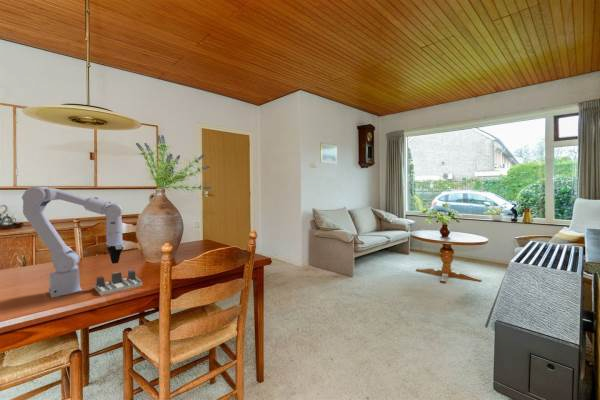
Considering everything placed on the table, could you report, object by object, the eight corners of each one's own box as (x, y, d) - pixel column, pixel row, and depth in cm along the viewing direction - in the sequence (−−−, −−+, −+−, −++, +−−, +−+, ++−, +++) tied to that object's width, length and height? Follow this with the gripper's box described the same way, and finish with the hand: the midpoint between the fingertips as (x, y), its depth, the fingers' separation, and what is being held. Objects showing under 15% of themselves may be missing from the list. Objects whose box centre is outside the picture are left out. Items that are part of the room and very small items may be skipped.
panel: (100, 295, 109) (100, 283, 109) (94, 288, 117) (93, 276, 117) (142, 285, 120) (142, 274, 120) (133, 279, 128) (133, 269, 128)
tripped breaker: (113, 283, 118) (113, 273, 118) (111, 281, 120) (111, 272, 120) (121, 281, 120) (121, 272, 120) (119, 280, 122) (119, 270, 122)
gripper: (129, 233, 117) (130, 264, 118) (120, 228, 127) (121, 258, 128) (109, 235, 112) (110, 268, 113) (102, 230, 122) (103, 260, 123)
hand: (115, 263), depth 120 cm, fingers closed
